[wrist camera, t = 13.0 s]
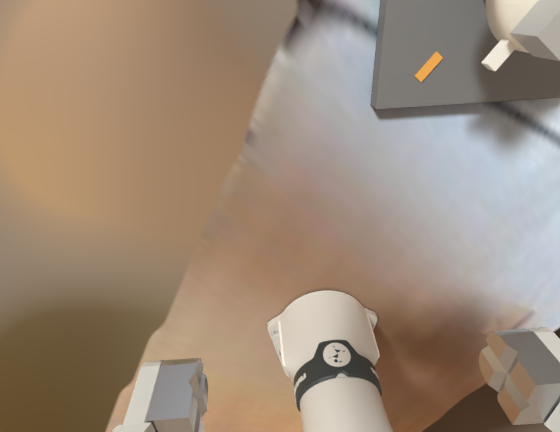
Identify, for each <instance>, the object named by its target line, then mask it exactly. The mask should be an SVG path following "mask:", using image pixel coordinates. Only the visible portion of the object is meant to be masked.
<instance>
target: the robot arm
mask: <svg viewBox="0 0 560 432" xmlns="http://www.w3.org/2000/svg"><path fill="white" fill-rule="evenodd" d="M377 320H378V319H377V315H376V313H375V312H373V311H371V310H369V309H366V308H364V307H363V306H362V305H361V304H360V303H359V302H358V301H357V300H356V299H355V298H354V297H352V296H350V295H348V294H346V293H343V292H338V291H317V292H313V293H309V294H306V295H304V296H302V297H300V298H298V299H296V300H295V301H293V302H292V303H291V304H290V305H288V307H287V308H286V309H285V310H284V311H283V312H282V313H281V314H280V315H279V316H277V317H275V318H273V319H272V320H270V321H269V322H268V323H267V328H268V332H269V334H270V337H271V339H272V342H273V344H274V347H275V349H276V352H277V355H278V357H279V360H280V362H281V365H282V367H283V370H284V372H285V374H286V375H287V376H289V377H290V379H291V381H292V383H293V385H294V396H295V400H296V404H297V408H298V410H299V411H300V413H301V421H302V430H303V432H393V430H392V427H391V425H390V422H389V419H388V417H387V414H386V411H385V408H384V405H383V402H382V399H381V396H382V390H381V386H380V380H379V377H378V374H377V373H376V370H375V367H374V366H375V365H376V363H377V360H378V358H379V357H380V355H379V350H378V347H377V343H376V340H375V336H374V333H373V330H374V328H375V325H376V323H377ZM485 341H486V342H487V344H488V346H487V347H485V348H484V349H483V350H481V352H480V355H479V367H480V370H481V373H482V375H483V377H484V379H485V381H486V382H487V384H488V385H489V386H490V387H492V388H493V389H495V390H496V391H498V402H499V403H500V405H501V407H502V408H503V410H504V412H505V413H506V415H507V416H508V418H509V420H510V421H511V423H512V424H513V425H519V424H533V423H545V424H544V425H545V426H546V427H548V428H549V429H550V430H551V431H552V432H560V339H559V338H558V337H557V336H556V335H555V334H554V332H552V331H551V330H550V329H548V328H543V327H541V328H532V329H516V330H506V331H497V332H491V333H490V334H488V336H487V338H486V340H485ZM202 370H203V363H202V360H201V358H191V359H176V360H160V361H149V362H144V364H143V365H142V367H141V368H140V371H139V375H138V378H137V381H136V384H135V387H134V391H133V394H132V397H131V400H130V404H129V407H128V410H127V413H126V416H125V420H124V423H123V425H117V426H116V427H115V428H114V429H113V430H112V431H111V432H204V430H205V427H204V423H203V420H202V416H203V415H204V413H205V412H206V411H207V403H208V384H207V378H206V375H205V374H204V373H202Z"/></svg>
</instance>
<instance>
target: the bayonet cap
mask: <svg viewBox="0 0 560 432" xmlns="http://www.w3.org/2000/svg"><path fill="white" fill-rule="evenodd" d="M486 16H487V21H488V25H489V27H490V30H491V32H492V34H493V35H494V37H495V38H496V39H497V40H498V41H499V43H498V44H497V45H496V46H495V47H494V48H493V50H492V51H491V52H490V53H489V54H488V55H487V57H486V58H485V59H484V60H483V61H482V62H481V63H482V64H483V65H484V66H485V67H486V68H487V69H488V70H492V71H496V70H497V69H498V68H499V67H500V66H501V65H502V63H503V62H504V61H505V60H506V59H507V58H508V57H509V56H510V54H511V53H512V52H513V51H514V50H516V51H521V52H527V53H530V54H531V55H532V56H535V57H540V58H545V59H550V60H556V61H560V0H486Z"/></svg>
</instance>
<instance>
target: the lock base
mask: <svg viewBox="0 0 560 432" xmlns="http://www.w3.org/2000/svg"><path fill="white" fill-rule="evenodd" d="M498 43H499V41H498V40H497V39H496V38H495V37H494V35H493V34H492V32H491V30H490V27H489V25H488V21H487V16H486V0H380V9H379V20H378V30H377V41H376V52H375V62H374V73H373V84H372V94H371V106H373V107H374V108H375V109H387V108H403V107H419V106H434V105H450V104H466V103H482V102H497V101H513V100H529V99H545V98H560V61H556V60H550V59H545V58H540V57H535V56H532V55H531V54H530V53H527V52H521V51H516V50H514V51H513V52H512V53H511V54H510V56H509V57H508V58H507V59H506V60H505V61H504V62H503V63H502V65H501V66H500V67H499V68H498V69H497V70H496V71H492V70H488V69H487V68H486V67H485V66H484V65H483V64H482V63H481V62H482V61H483V60H484V59H485V58H486V57H487V55H488V54H489V53H490V52H491V51H492V50H493V48H494V47H495V46H496V45H497V44H498Z"/></svg>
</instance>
